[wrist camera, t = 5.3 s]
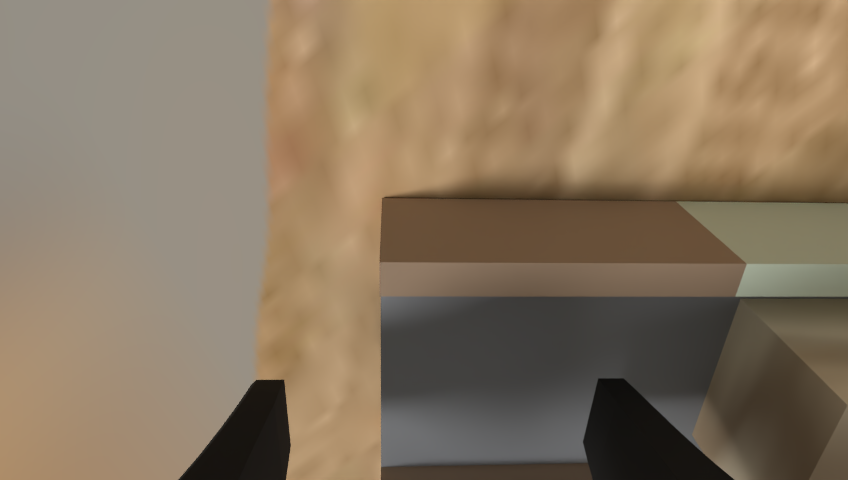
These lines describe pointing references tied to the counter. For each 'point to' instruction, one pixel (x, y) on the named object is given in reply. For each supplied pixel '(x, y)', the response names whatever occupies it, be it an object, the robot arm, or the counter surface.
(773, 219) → the board
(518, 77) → the counter surface
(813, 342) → the maple block
